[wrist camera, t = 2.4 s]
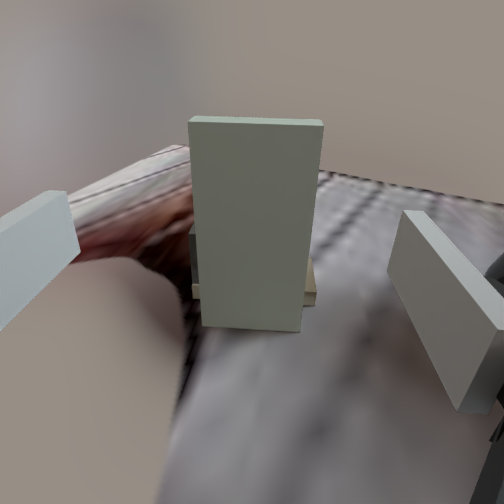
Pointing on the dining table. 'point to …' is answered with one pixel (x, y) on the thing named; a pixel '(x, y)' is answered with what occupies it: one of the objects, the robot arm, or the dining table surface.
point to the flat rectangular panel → (253, 217)
